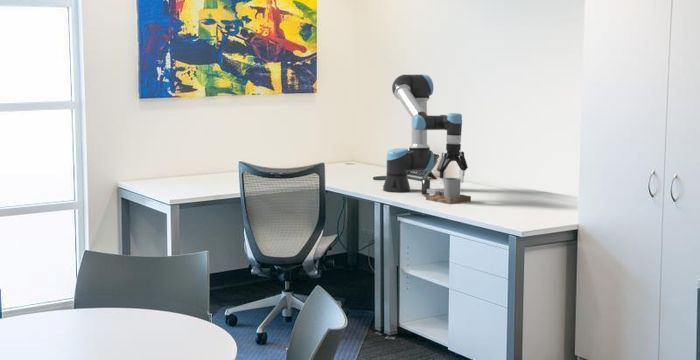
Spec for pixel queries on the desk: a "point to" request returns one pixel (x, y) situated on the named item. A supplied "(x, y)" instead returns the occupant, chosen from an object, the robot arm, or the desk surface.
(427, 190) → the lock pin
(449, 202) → the dock
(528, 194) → the desk surface
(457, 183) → the cup
